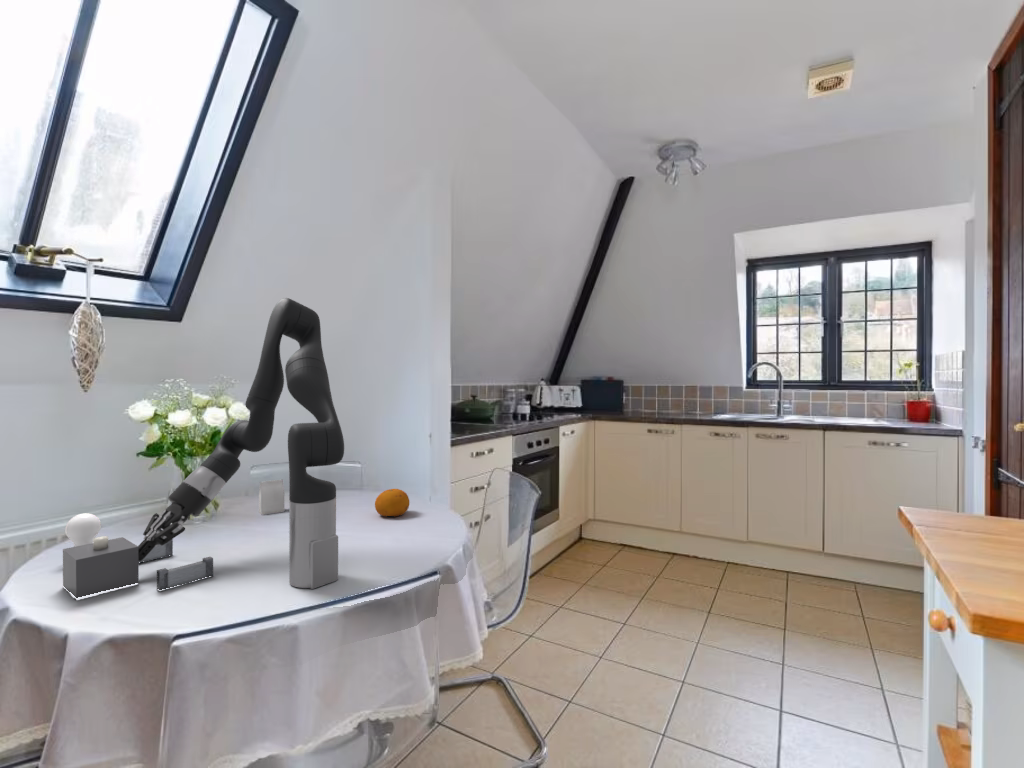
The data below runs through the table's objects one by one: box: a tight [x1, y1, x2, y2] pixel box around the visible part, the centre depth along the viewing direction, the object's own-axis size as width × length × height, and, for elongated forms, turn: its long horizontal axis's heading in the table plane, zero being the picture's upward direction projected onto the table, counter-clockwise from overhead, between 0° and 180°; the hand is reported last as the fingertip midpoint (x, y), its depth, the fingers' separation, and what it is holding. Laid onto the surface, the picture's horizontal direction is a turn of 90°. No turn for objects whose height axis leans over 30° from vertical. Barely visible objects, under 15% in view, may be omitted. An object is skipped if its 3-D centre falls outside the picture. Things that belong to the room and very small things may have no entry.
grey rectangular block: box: [258, 479, 285, 516], centre depth 163 cm, size 4×7×10 cm, turn 127°
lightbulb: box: [64, 512, 102, 547], centre depth 119 cm, size 6×6×11 cm
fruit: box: [374, 488, 410, 517], centre depth 160 cm, size 10×10×8 cm
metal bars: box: [139, 538, 214, 590], centre depth 113 cm, size 23×10×4 cm, turn 53°
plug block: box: [62, 535, 140, 598], centre depth 105 cm, size 10×10×10 cm
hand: (135, 558), depth 109 cm, fingers closed
